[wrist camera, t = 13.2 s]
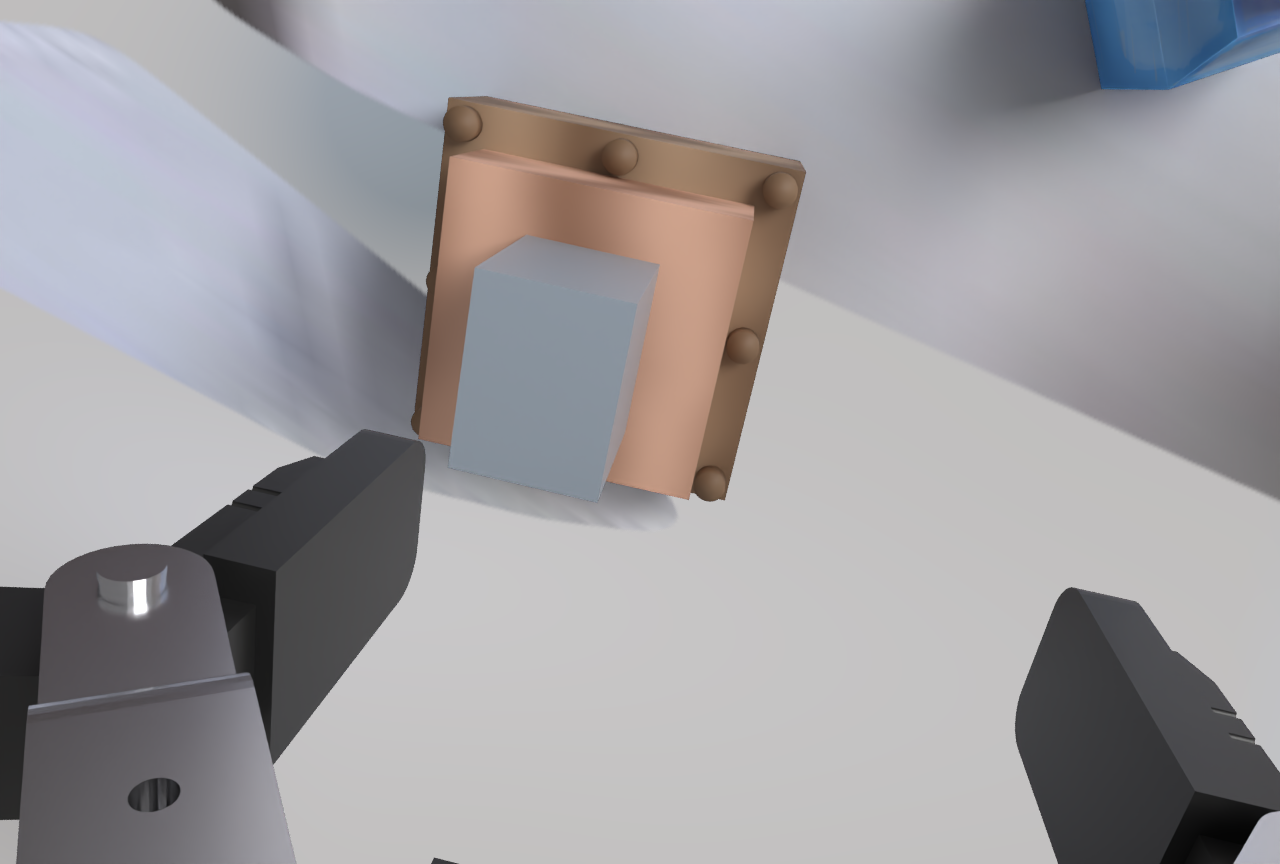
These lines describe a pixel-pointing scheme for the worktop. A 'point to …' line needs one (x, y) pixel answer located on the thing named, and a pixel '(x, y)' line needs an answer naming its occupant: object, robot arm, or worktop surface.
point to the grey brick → (550, 365)
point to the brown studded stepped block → (631, 227)
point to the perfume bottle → (1178, 39)
